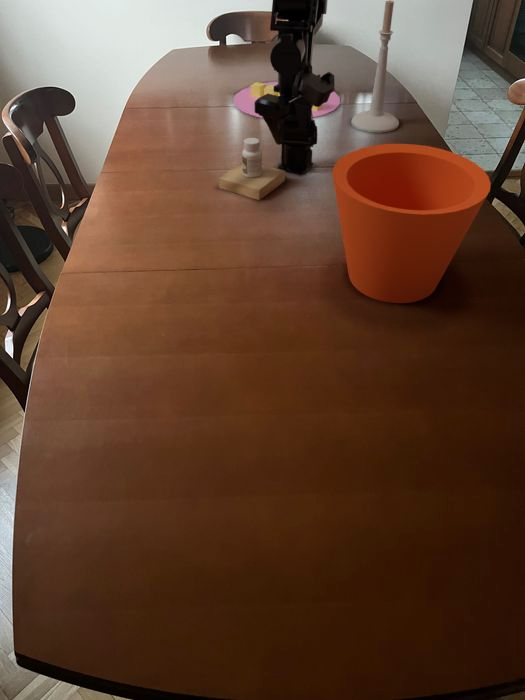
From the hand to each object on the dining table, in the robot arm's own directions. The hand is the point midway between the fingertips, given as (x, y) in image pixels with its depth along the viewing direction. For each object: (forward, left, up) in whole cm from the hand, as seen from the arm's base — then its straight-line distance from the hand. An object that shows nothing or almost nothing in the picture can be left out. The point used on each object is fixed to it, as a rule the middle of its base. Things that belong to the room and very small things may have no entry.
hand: (290, 136), depth 126 cm
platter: (-29, +48, -12) cm, 58 cm away
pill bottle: (-8, -3, -10) cm, 13 cm away
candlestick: (+1, +45, -12) cm, 47 cm away
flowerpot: (+34, -20, -12) cm, 41 cm away
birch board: (-8, -3, -12) cm, 15 cm away
